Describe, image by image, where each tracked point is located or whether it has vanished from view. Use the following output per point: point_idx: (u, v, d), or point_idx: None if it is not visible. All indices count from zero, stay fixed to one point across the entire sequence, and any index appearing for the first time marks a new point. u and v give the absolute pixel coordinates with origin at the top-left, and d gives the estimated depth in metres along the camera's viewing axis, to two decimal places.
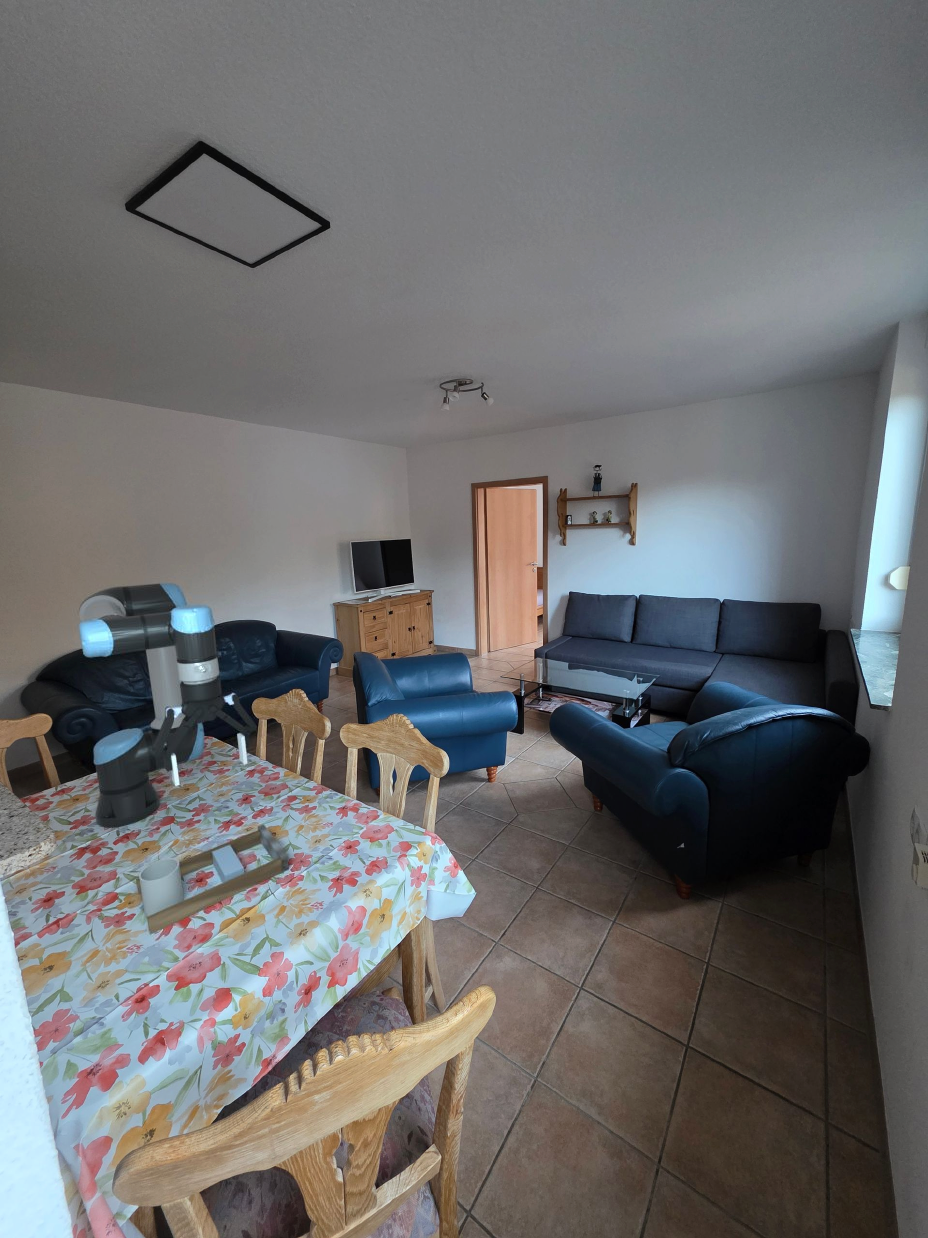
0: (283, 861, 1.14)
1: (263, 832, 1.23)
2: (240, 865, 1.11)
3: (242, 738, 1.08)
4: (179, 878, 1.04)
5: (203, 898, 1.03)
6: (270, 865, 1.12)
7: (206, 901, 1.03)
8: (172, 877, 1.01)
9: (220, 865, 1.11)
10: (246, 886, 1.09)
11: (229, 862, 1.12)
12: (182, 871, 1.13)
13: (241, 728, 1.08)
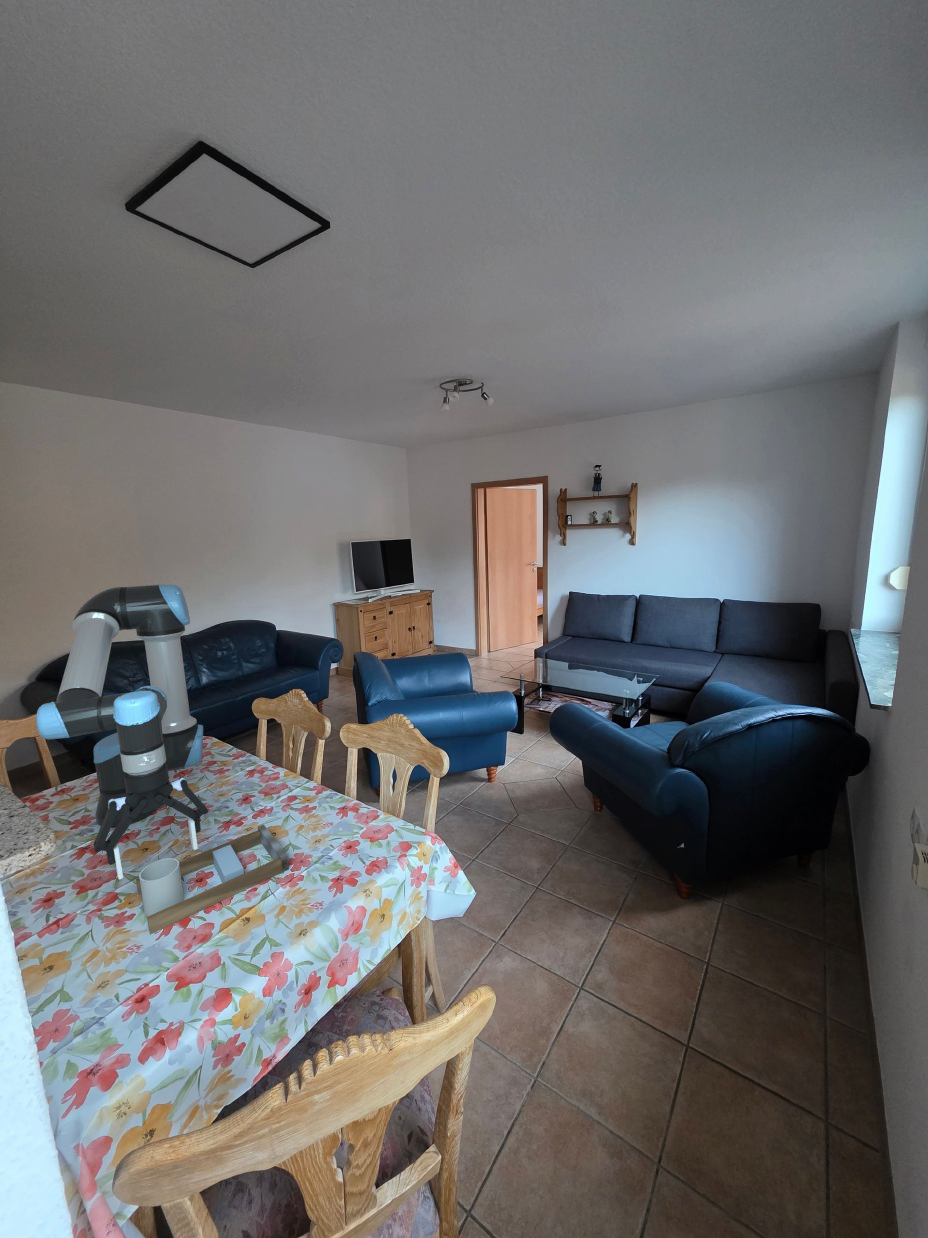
0: (283, 861, 1.14)
1: (263, 832, 1.23)
2: (240, 865, 1.11)
3: (192, 824, 1.05)
4: (179, 878, 1.04)
5: (203, 898, 1.03)
6: (270, 865, 1.12)
7: (206, 901, 1.03)
8: (172, 877, 1.01)
9: (220, 865, 1.11)
10: (246, 886, 1.09)
11: (229, 862, 1.12)
12: (182, 871, 1.13)
13: (191, 813, 1.05)
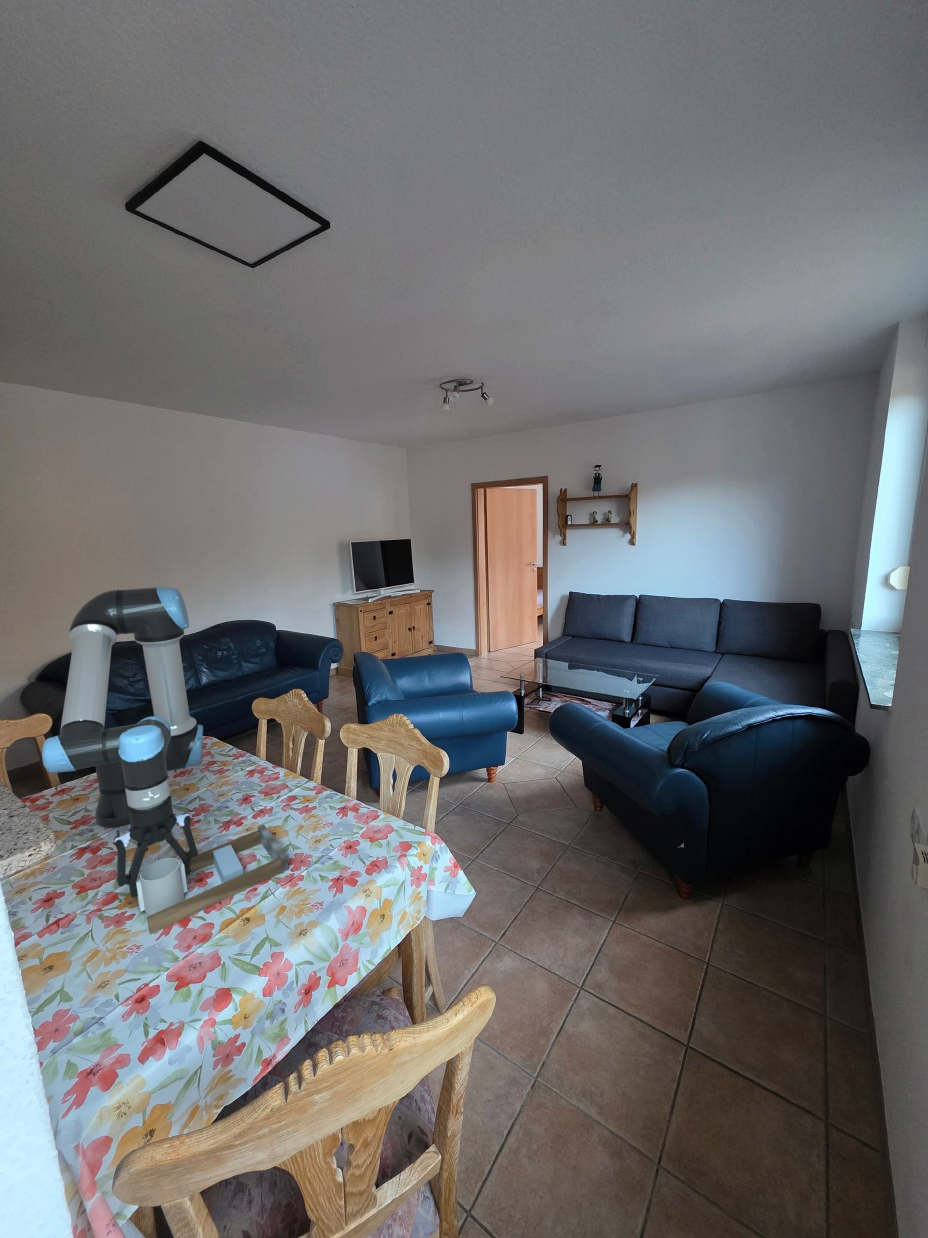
0: (283, 861, 1.14)
1: (263, 832, 1.23)
2: (239, 865, 1.11)
3: (181, 867, 1.05)
4: (180, 878, 1.04)
5: (203, 898, 1.03)
6: (270, 865, 1.12)
7: (206, 901, 1.03)
8: (173, 877, 1.02)
9: (220, 865, 1.11)
10: (246, 886, 1.09)
11: (229, 862, 1.12)
12: None
13: (183, 855, 1.05)
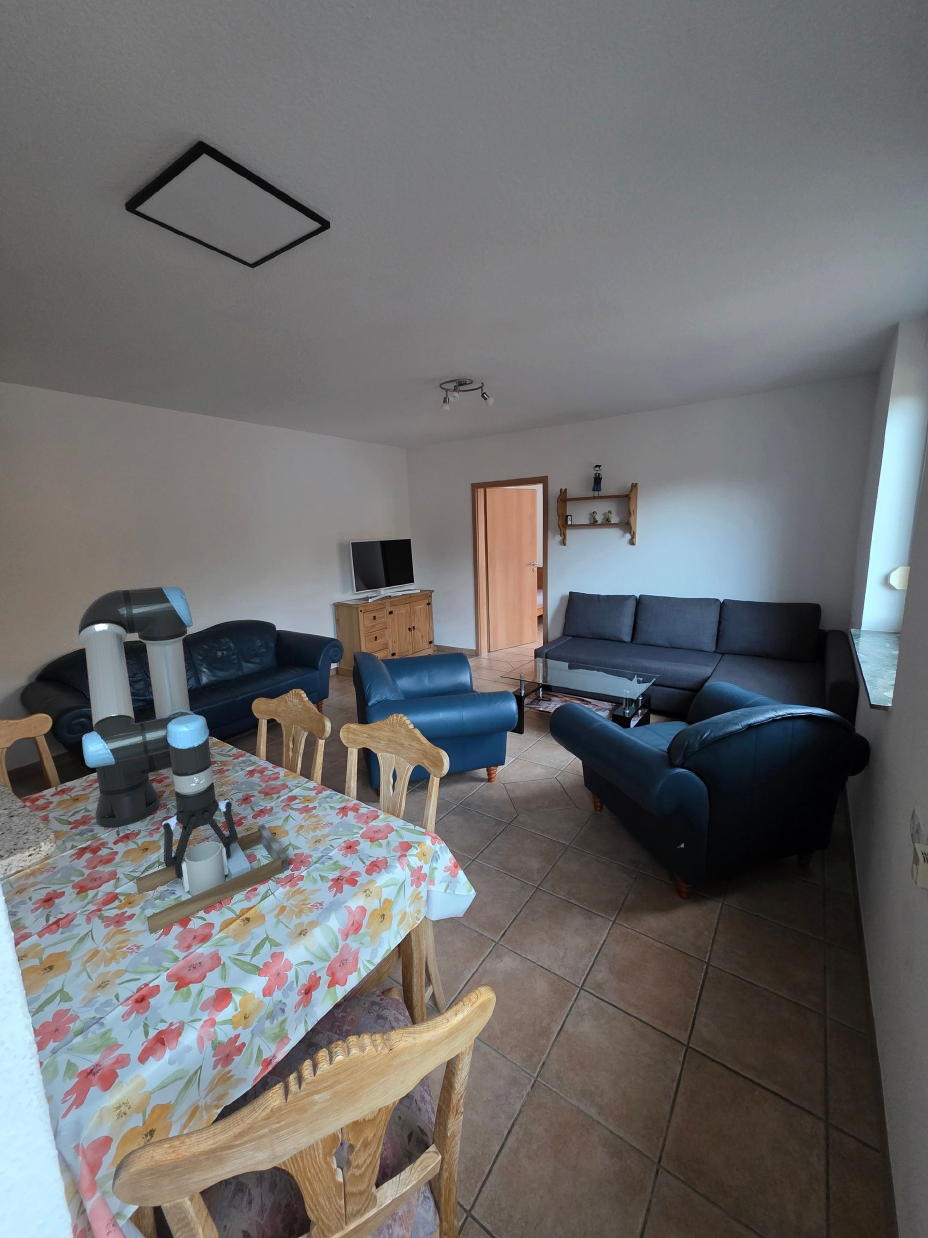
0: (283, 861, 1.14)
1: (263, 832, 1.23)
2: (247, 863, 1.12)
3: (223, 850, 1.11)
4: (222, 860, 1.09)
5: (203, 898, 1.03)
6: (270, 865, 1.12)
7: (206, 901, 1.03)
8: (216, 858, 1.07)
9: (227, 862, 1.12)
10: (246, 886, 1.09)
11: (236, 859, 1.13)
12: None
13: (224, 839, 1.11)
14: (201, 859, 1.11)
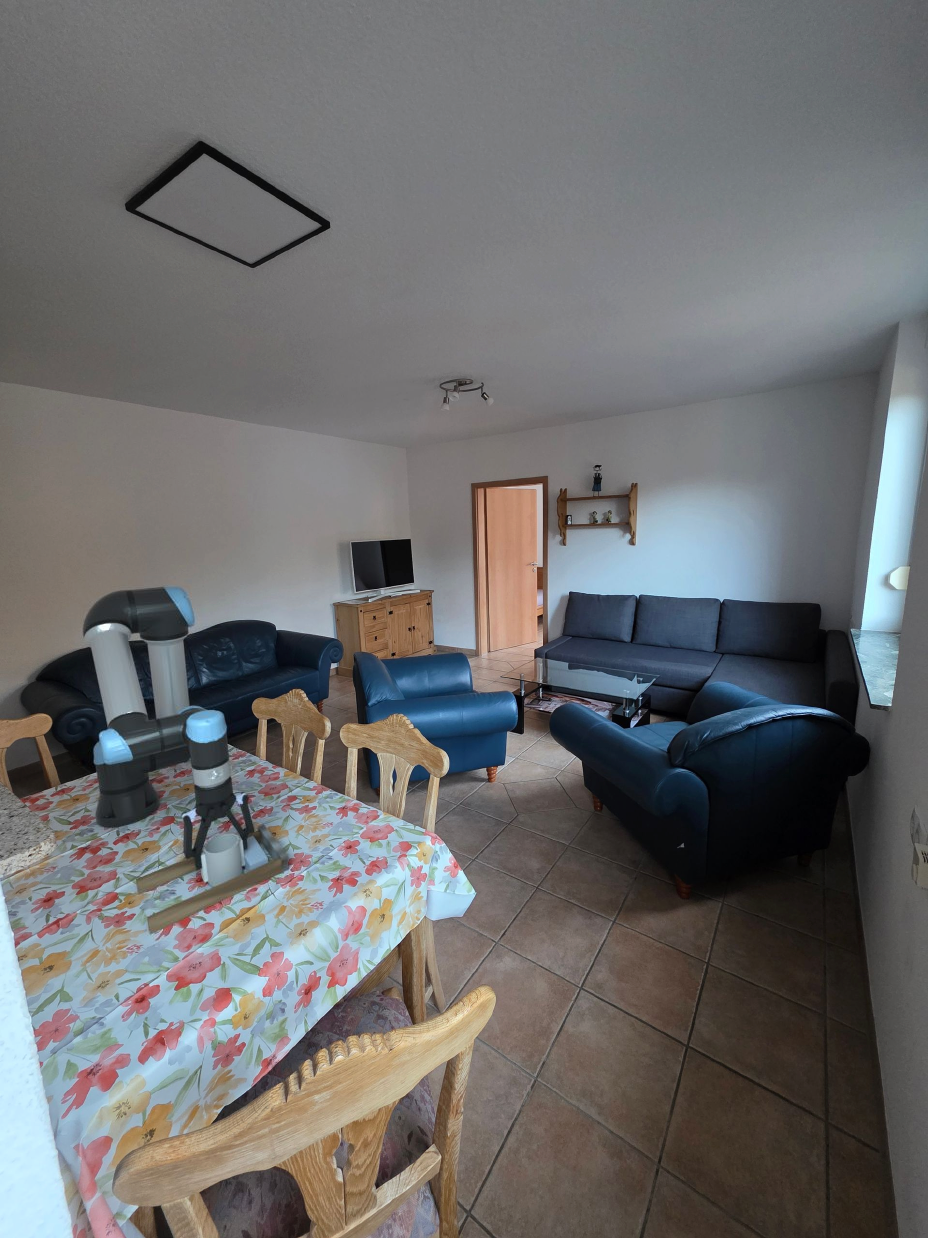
0: (283, 861, 1.14)
1: (263, 832, 1.23)
2: (264, 855, 1.14)
3: (240, 842, 1.13)
4: (239, 851, 1.12)
5: (203, 898, 1.03)
6: (270, 865, 1.12)
7: (206, 901, 1.03)
8: (234, 850, 1.10)
9: (245, 855, 1.14)
10: (246, 886, 1.09)
11: (253, 852, 1.15)
12: (182, 871, 1.13)
13: (241, 831, 1.13)
14: (219, 851, 1.14)
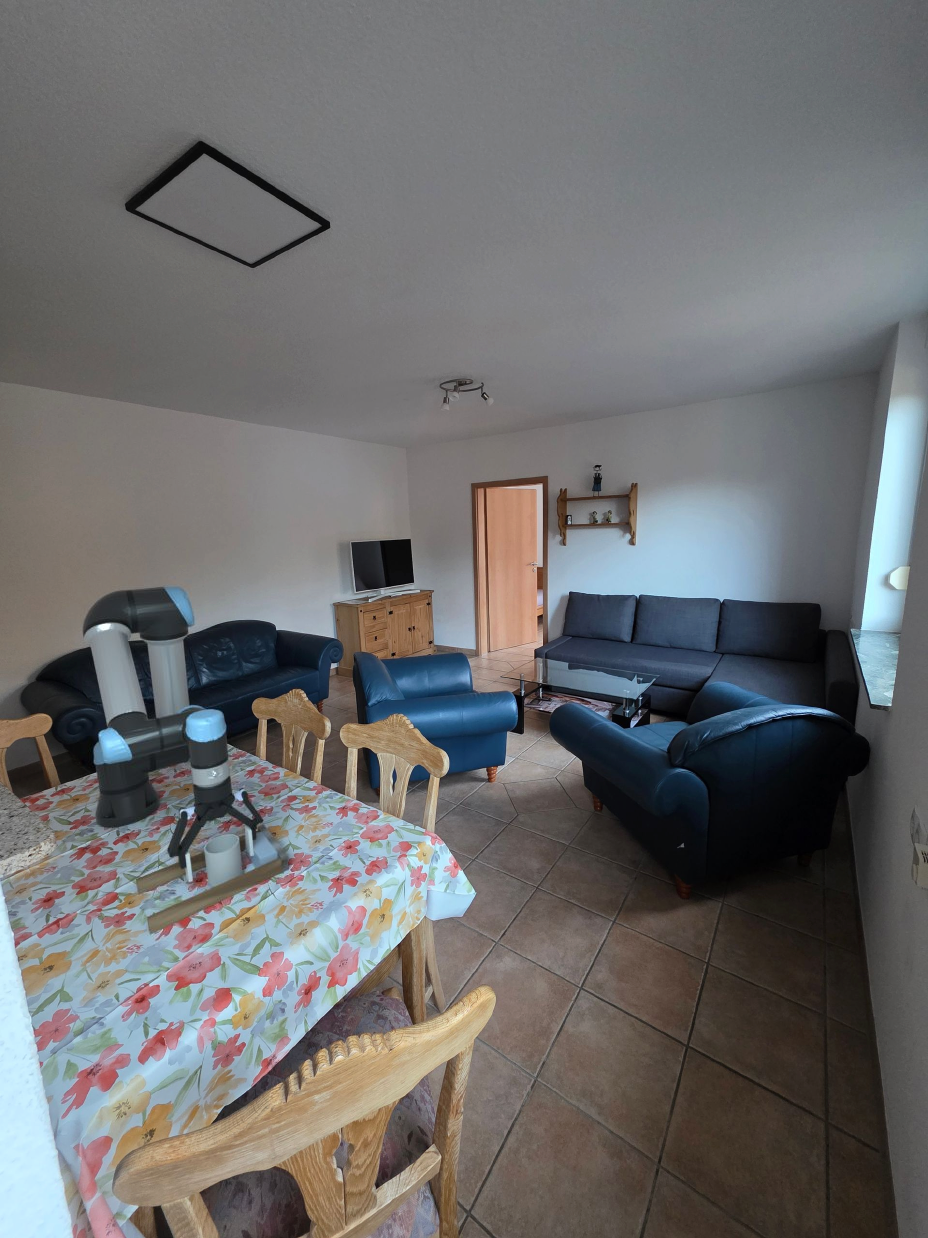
0: (283, 861, 1.14)
1: (263, 832, 1.23)
2: (274, 850, 1.15)
3: (249, 832, 1.14)
4: (239, 852, 1.12)
5: (203, 898, 1.03)
6: (270, 865, 1.12)
7: (206, 901, 1.03)
8: (234, 850, 1.10)
9: (254, 849, 1.16)
10: (246, 886, 1.09)
11: (262, 847, 1.17)
12: (182, 871, 1.13)
13: (249, 822, 1.14)
14: (219, 851, 1.14)
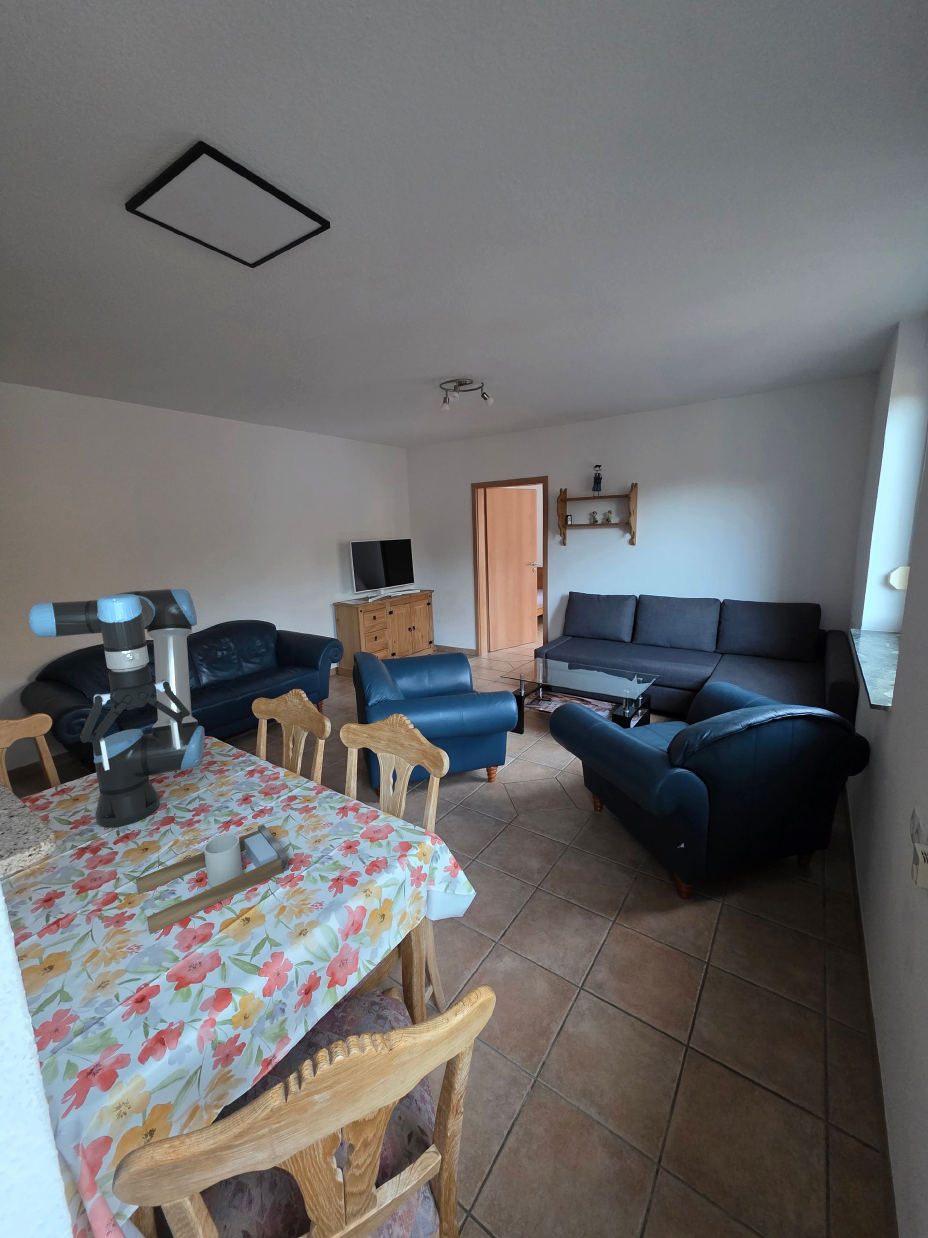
0: (283, 861, 1.14)
1: (263, 832, 1.23)
2: None
3: (174, 724, 1.11)
4: (239, 852, 1.12)
5: (203, 898, 1.03)
6: (270, 865, 1.12)
7: (206, 901, 1.03)
8: (234, 850, 1.10)
9: None
10: (246, 886, 1.09)
11: None
12: (182, 871, 1.13)
13: (173, 714, 1.11)
14: (219, 851, 1.14)
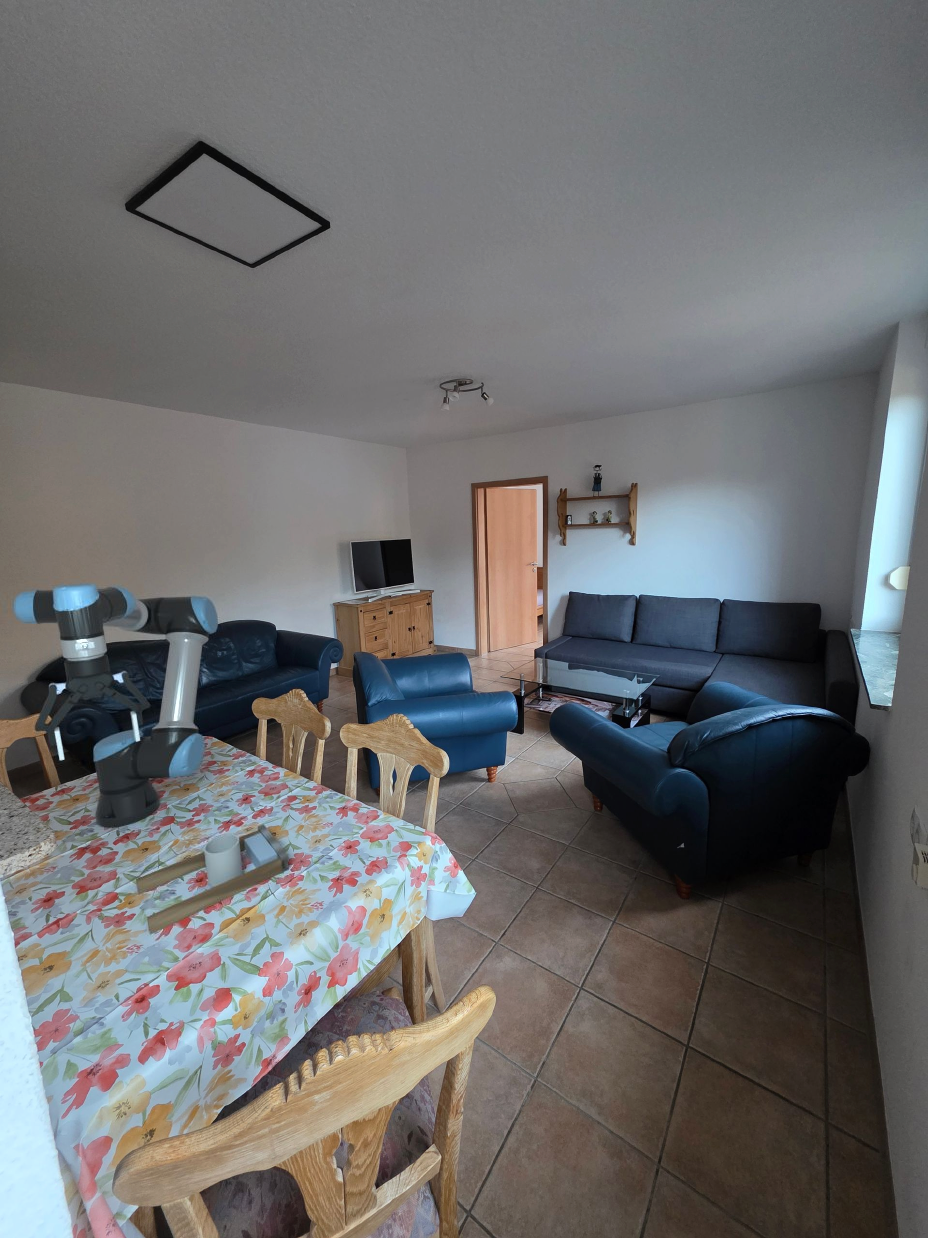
0: (283, 861, 1.14)
1: (263, 832, 1.23)
2: None
3: (133, 715, 1.10)
4: (239, 852, 1.12)
5: (203, 898, 1.03)
6: (270, 865, 1.12)
7: (206, 901, 1.03)
8: (234, 850, 1.10)
9: None
10: (246, 886, 1.09)
11: None
12: (182, 871, 1.13)
13: (132, 705, 1.10)
14: (219, 851, 1.14)
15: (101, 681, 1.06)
